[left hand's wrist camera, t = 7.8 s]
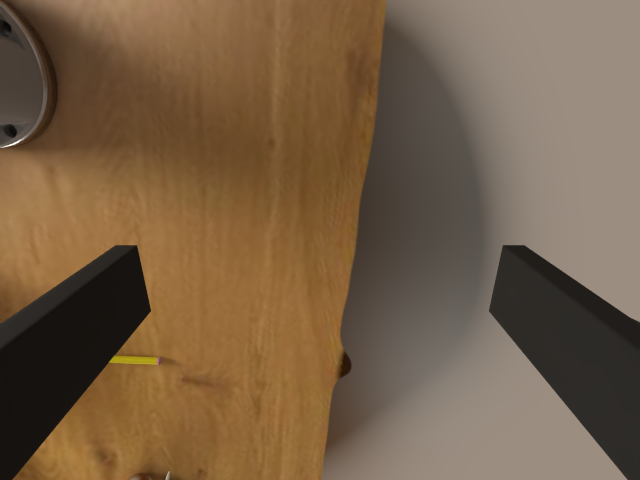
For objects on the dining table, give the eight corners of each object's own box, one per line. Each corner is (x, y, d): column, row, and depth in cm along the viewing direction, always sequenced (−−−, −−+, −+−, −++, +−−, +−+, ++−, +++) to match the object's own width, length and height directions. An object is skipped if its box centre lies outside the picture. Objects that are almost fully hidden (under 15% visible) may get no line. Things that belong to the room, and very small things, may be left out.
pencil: (161, 355, 48) (158, 360, 48) (162, 361, 49) (159, 366, 48) (43, 350, 48) (38, 355, 47) (45, 356, 48) (39, 361, 48)
